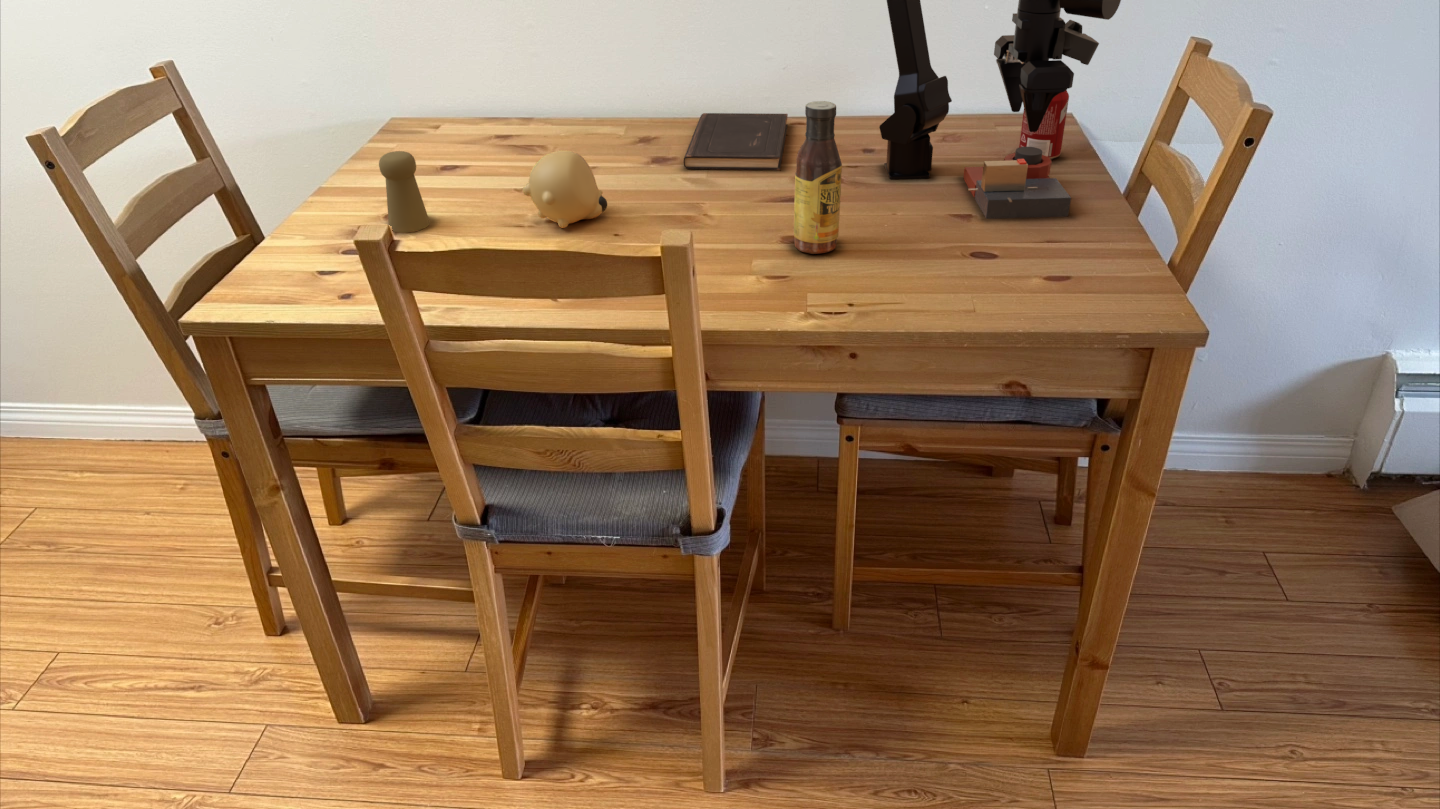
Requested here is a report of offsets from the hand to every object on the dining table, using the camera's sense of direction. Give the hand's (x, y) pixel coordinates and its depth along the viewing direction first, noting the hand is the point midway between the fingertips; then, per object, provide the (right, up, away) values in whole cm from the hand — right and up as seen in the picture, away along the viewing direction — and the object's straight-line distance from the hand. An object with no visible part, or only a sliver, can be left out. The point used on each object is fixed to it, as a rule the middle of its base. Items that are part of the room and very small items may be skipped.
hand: (1024, 121), depth 153 cm
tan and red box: (-2, -9, +3) cm, 10 cm away
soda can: (+9, 0, +23) cm, 25 cm away
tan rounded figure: (-67, -14, +5) cm, 68 cm away
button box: (+1, -7, +12) cm, 14 cm away
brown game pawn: (-91, -14, +5) cm, 92 cm away
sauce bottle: (-31, -19, -5) cm, 37 cm away
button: (+4, -3, +10) cm, 12 cm away
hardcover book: (-41, +4, +31) cm, 52 cm away
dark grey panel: (0, -12, +4) cm, 13 cm away
